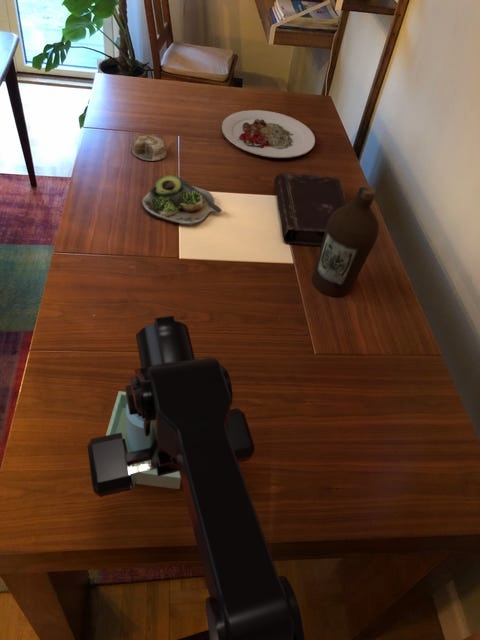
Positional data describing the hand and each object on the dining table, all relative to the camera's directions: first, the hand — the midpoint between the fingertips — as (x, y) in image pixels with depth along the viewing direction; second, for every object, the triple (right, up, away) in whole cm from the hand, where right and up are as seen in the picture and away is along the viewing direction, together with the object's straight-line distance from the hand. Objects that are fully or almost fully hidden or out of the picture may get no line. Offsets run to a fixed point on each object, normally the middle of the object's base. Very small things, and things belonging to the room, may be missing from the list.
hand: (168, 468), depth 63 cm
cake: (-17, +68, +74) cm, 102 cm away
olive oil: (+30, +28, +47) cm, 62 cm away
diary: (+28, +47, +64) cm, 84 cm away
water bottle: (-5, 0, +14) cm, 15 cm away
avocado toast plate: (-7, +49, +59) cm, 77 cm away
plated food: (+18, +78, +90) cm, 120 cm away
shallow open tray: (-5, -1, +14) cm, 15 cm away
